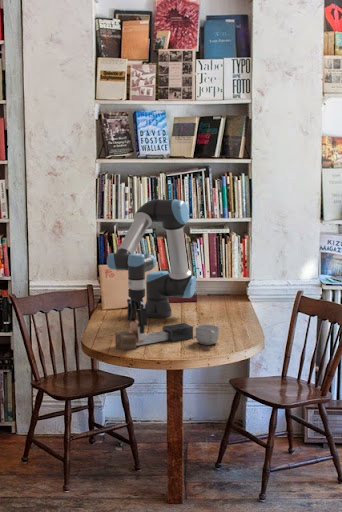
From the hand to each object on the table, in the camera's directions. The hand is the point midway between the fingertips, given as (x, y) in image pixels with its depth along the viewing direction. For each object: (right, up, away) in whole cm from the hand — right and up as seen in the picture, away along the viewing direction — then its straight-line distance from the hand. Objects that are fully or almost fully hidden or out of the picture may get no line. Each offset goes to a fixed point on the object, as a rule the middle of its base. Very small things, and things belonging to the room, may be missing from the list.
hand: (137, 338), depth 336 cm
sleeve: (+18, -1, +12) cm, 22 cm away
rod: (+7, -3, +5) cm, 9 cm away
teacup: (+32, -3, +2) cm, 32 cm away
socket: (-5, -4, -3) cm, 7 cm away
